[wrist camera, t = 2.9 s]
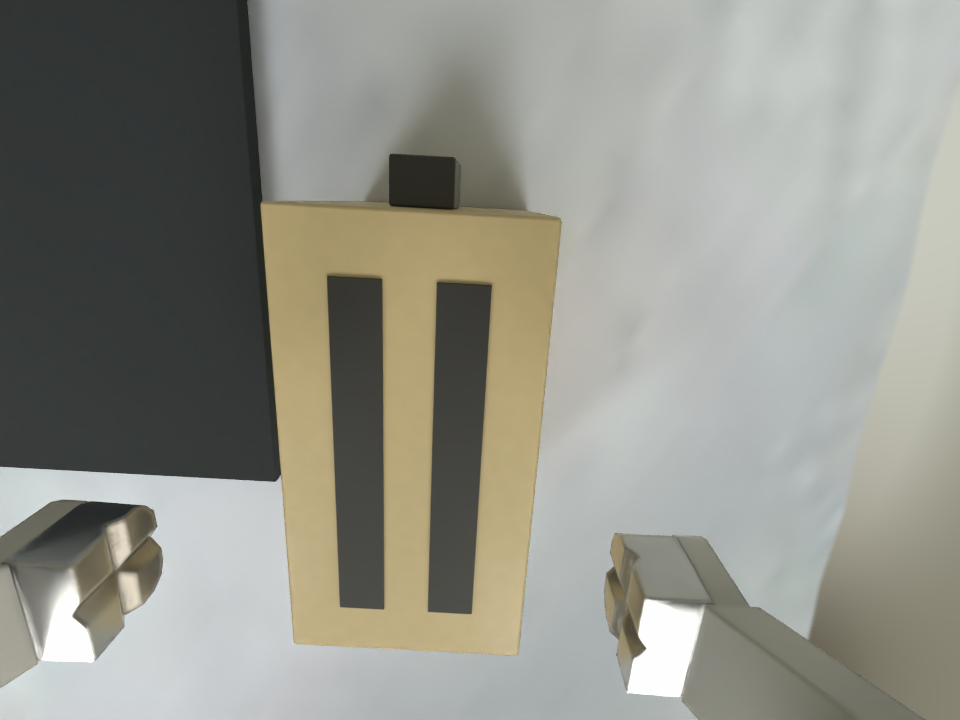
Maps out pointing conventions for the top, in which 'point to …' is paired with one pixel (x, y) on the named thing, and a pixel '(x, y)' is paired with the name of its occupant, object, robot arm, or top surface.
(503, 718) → the top surface
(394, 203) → the toaster
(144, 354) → the mat
